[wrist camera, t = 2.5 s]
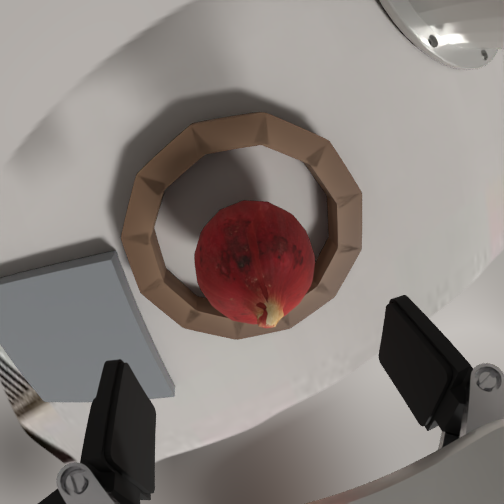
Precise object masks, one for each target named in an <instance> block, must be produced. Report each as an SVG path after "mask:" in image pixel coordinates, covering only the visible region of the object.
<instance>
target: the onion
mask: <svg viewBox="0 0 504 504" xmlns="http://www.w3.org/2000/svg"><path fill="white" fill-rule="evenodd" d="M194 256H195V268H196V276H197V283H198V285H199V287H200V289H201V291H202V292H203V294H204V295H205V296H206V298H207V299H208V301H209V302H210V304H211V305H212V306H213V307H214V308H215V309H216V310H218V311H219V312H221V313H222V314H223V315H225V316H226V317H228V318H229V319H231V320H232V321H237V322H242V323H248V324H253V325H254V324H258V326H259V327H262V328H272V327H276V325H277V323H278V321H279V320H280V319H281V318H282V317H284V316H285V315H287V314H288V313H289V312H290V311H291V310H293V309H294V308H295V307H296V306H297V305H298V304H299V303H300V302H301V301H302V299H303V297H304V296H305V294H306V293H307V291H308V290H309V288H310V287H311V284H312V280H313V274H314V267H315V256H314V252H313V249H312V246H311V243H310V240H309V237H308V235H307V232H306V230H305V229H304V228H303V227H302V225H301V224H300V223H299V222H298V221H297V219H296V218H295V217H294V216H293V215H292V214H290V213H289V212H287V211H285V210H283V209H281V208H279V207H277V206H275V205H273V204H271V203H269V202H263V201H246V200H243V201H241V202H238V203H236V204H233V205H231V206H228V207H226V208H223V209H221V210H219V211H218V212H217V214H216V215H215V216H214V217H213V218H212V219H211V220H210V221H209V222H208V223H207V224H206V225H205V227H204V228H203V230H202V232H201V234H200V237H199V241H198V244H197V247H196V251H195V254H194Z"/></svg>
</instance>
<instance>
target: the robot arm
mask: <svg viewBox="0 0 504 504" xmlns="http://www.w3.org/2000/svg"><path fill="white" fill-rule="evenodd" d="M380 2H381V4H382V6H383V8H384V9H385V10H386V12H387V13H388V15H389V16H390V18H391V19H392V21H393V22H394V23H395V24H396V25H397V27H398V28H399V29H400V30H401V31H402V33H403V34H404V35H405V36H406V37H407V38H408V39H409V40H410V41H411V42H412V43H413V44H414V45H415V46H416V47H417V48H418V49H420V50H421V51H422V52H424V53H425V54H426V55H428V56H429V57H430V58H432V59H434V60H436V61H437V62H439V63H441V64H443V65H445V66H448V67H452V68H455V69H466V70H471V69H479V68H482V67H484V66H486V65H487V64H488V63H490V62H491V61H492V60H493V58H494V57H495V55H496V53H497V51H498V49H504V0H380ZM379 360H380V363H381V365H382V366H383V368H384V369H385V371H386V372H387V374H388V375H389V377H390V378H391V380H392V382H393V383H394V385H395V386H396V388H397V389H398V391H399V393H400V394H401V396H402V397H403V399H404V400H405V402H406V404H407V405H408V407H409V408H410V410H411V412H412V413H413V415H414V416H415V418H416V420H417V421H418V423H419V424H420V425H421V426H425V428H426V429H427V431H429V430H431V429H433V428H435V427H436V426H438V425H439V427H440V428H441V430H442V433H441V438H440V444H439V448H438V450H437V451H436V452H434V453H432V454H430V455H428V456H426V457H424V458H422V459H420V460H418V461H416V462H414V463H412V464H410V465H408V466H406V467H404V468H402V469H400V470H397V471H395V472H393V473H391V474H389V475H386V476H384V477H382V478H379V479H377V480H374V481H372V482H369V483H367V484H364V485H362V486H359V487H356V488H354V489H351V490H348V491H345V492H342V493H339V494H336V495H333V496H330V497H327V498H323V499H320V500H317V501H313V502H309V503H306V504H504V374H503V372H502V371H501V370H500V369H499V368H498V367H497V366H495V365H493V364H488V363H486V364H485V363H484V364H480V365H478V366H476V367H475V368H474V369H473V368H472V367H471V365H470V364H469V363H468V361H467V360H466V359H465V358H464V357H463V356H462V355H461V353H460V352H459V351H458V350H457V349H456V348H455V347H454V346H453V345H452V343H451V342H450V341H449V340H448V339H447V338H446V337H445V336H444V335H443V333H442V332H441V331H439V329H438V328H437V327H436V326H435V325H434V324H433V323H432V322H431V321H430V320H429V318H428V317H427V316H426V315H425V314H424V313H423V312H422V311H421V310H420V309H419V308H418V307H417V306H416V305H415V304H414V303H413V302H412V301H411V300H410V299H409V298H408V297H407V296H406V295H403V296H400V297H396V298H393V299H391V300H390V302H389V304H388V305H387V306H386V311H385V319H384V326H383V332H382V339H381V345H380V350H379ZM155 428H156V411H155V408H154V406H153V404H152V403H151V401H150V400H149V398H148V396H147V395H146V393H145V391H144V390H143V388H142V387H141V385H140V383H139V382H138V380H137V378H136V376H135V375H134V373H133V371H132V369H131V368H130V366H129V364H128V363H124V362H123V361H122V360H121V359H117V360H109V361H106V362H105V363H104V367H103V370H102V374H101V378H100V382H99V387H98V391H97V395H96V398H94V399H93V402H92V405H91V409H90V414H89V418H88V423H87V428H86V433H85V438H84V444H83V449H82V455H81V461H80V463H77V462H74V463H69V464H67V465H65V466H64V467H63V468H62V469H61V470H60V472H59V473H58V476H57V487H58V489H57V490H55V491H54V492H53V493H51V494H50V495H49V496H48V497H46V498H45V499H43V500H42V501H41V502H40V503H38V504H140V500H151V495H150V494H151V493H154V490H155V483H154V482H155V472H154V470H155Z"/></svg>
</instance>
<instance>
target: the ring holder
mask: <svg viewBox="0 0 504 504" xmlns="http://www.w3.org/2000/svg"><path fill="white" fill-rule="evenodd" d="M257 145H263V146H265V147H268V148H271V149H273V150H276V151H278V152H281V153H283V154H286V155H288V156H291V157H293V158H295V159H298V160H300V161H303V162H304V164H305V165H306V167H307V168H308V169H309V171H310V172H311V174H312V175H313V176H314V178H315V179H316V181H317V182H318V184H319V185H320V186H321V188H322V189H323V191H324V192H325V194H326V195H327V210H328V234H329V237H328V239H327V241H326V243H325V245H324V247H323V249H322V251H321V253H320V255H319V257H318V259H317V261H316V263H315V267H314V274H313V280H312V284H311V287H310V288H309V290H308V291H307V293H306V294H305V296H304V297H303V299H302V301H301V302H300V303H299V304H298V305H297V306H296V307H295V308H294V309H293V310H291V311H290V312H289V313H288V314H287V315H285V316H284V317H282V318H281V319H280V320H279V321H278V323H277V325H276V327H272V328H262V327H259V326H258V324H254V325H253V324H248V323H242V322H237V321H232V320H231V319H229V318H228V317H226V316H225V315H223V314H222V313H221V312H219V311H218V310H216V309H215V308H214V307H213V306H212V305H211V304H210V302H209V301H208V299H207V298H203V297H199V296H196V295H195V294H194V293H193V292H192V291H191V290H189V289H188V288H187V287H186V286H185V285H184V284H183V283H182V282H180V281H179V280H178V279H177V278H176V277H175V276H174V275H173V274H172V273H171V272H169V271H168V270H167V269H166V266H165V263H164V260H163V257H162V253H161V250H160V247H159V243H158V240H157V236H156V233H155V229H154V226H155V222H156V219H157V215H158V212H159V209H160V205H161V202H162V198H163V195H164V192H165V189H166V188H167V187H169V186H170V185H171V184H172V183H173V182H174V181H175V180H176V179H177V178H179V177H180V176H181V175H182V174H183V173H184V172H185V171H186V170H188V169H189V168H190V167H191V166H192V165H193V164H195V163H196V162H197V161H198V160H199V159H200V158H202V157H203V156H204V155H205V154H210V153H216V152H221V151H227V150H232V149H238V148H244V147H250V146H257ZM121 240H122V243H123V246H124V249H125V252H126V255H127V258H128V261H129V263H130V266H131V269H132V272H133V274H134V277H135V280H136V282H137V285H138V288H139V290H140V293H141V294H142V295H144V296H145V297H146V298H147V299H148V300H150V301H151V302H152V303H153V304H154V305H156V306H157V307H158V308H159V309H160V310H162V311H163V312H164V313H165V314H166V315H168V316H169V317H170V318H171V319H173V320H174V321H175V322H176V323H178V324H179V325H180V326H182V327H184V328H186V329H190V330H194V331H199V332H203V333H208V334H212V335H217V336H222V337H226V338H231V339H243V338H248V337H253V336H258V335H262V334H267V333H272V332H277V331H281V330H286V329H290V328H292V327H293V326H295V325H296V324H297V323H299V322H300V321H302V320H303V319H305V318H306V317H307V316H309V315H310V314H312V313H313V312H315V311H316V310H317V309H319V308H320V307H322V306H323V305H324V304H326V303H327V302H328V301H330V300H331V299H333V298H334V297H335V296H336V294H337V292H338V290H339V289H340V287H341V285H342V283H343V282H344V280H345V278H346V276H347V275H348V273H349V271H350V269H351V268H352V266H353V264H354V262H355V260H356V259H357V257H358V255H359V253H360V251H361V249H362V192H361V190H360V189H359V187H358V185H357V184H356V182H355V180H354V179H353V177H352V175H351V174H350V172H349V171H348V169H347V167H346V166H345V164H344V163H343V161H342V159H341V158H340V156H339V155H338V153H337V152H336V150H335V149H334V147H333V146H332V144H331V143H330V141H329V140H327V139H325V138H323V137H320V136H318V135H316V134H314V133H312V132H310V131H307V130H305V129H303V128H301V127H299V126H296V125H294V124H292V123H289V122H287V121H285V120H282V119H280V118H278V117H275V116H273V115H270V114H268V113H264V112H256V113H249V114H242V115H235V116H229V117H223V118H217V119H212V120H206V121H201V122H196V123H192V124H191V125H190V126H188V127H187V128H186V129H185V130H184V131H183V132H181V133H180V134H179V135H178V136H177V137H176V138H175V139H173V140H172V141H171V142H170V143H169V144H168V145H167V146H166V147H164V148H163V149H162V150H161V151H160V152H159V153H158V154H157V155H156V156H155V157H154V158H153V159H152V160H150V161H149V162H148V163H147V164H146V165H145V166H144V167H143V168H142V169H141V170H140V171H139V172H138V173H137V175H136V178H135V181H134V185H133V189H132V192H131V196H130V200H129V204H128V208H127V212H126V217H125V221H124V225H123V230H122V234H121Z"/></svg>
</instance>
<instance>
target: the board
mask: <svg viewBox="0 0 504 504" xmlns="http://www.w3.org/2000/svg"><path fill="white" fill-rule="evenodd" d="M0 344H1V346H2V347H3V349H4V350H5V352H6V353H7V355H8V356H9V357H10V359H11V360H12V362H13V363H14V364H15V366H16V367H17V368H18V370H19V371H20V372H21V374H22V375H23V376H24V378H25V379H26V380H27V381H28V383H29V384H30V385H31V386H32V388H33V389H34V390H35V391H36V392H37V394H38V395H39V396H40V397H41V398H42V399H43V401H44V402H93V399H94V398H96V395H97V391H98V387H99V382H100V378H101V374H102V370H103V367H104V363H105V362H106V361H109V360H117V359H121V360H122V361H123V362H124V363H128V364H129V366H130V368H131V369H132V371H133V373H134V375H135V376H136V378H137V380H138V382H139V383H140V385H141V387H142V388H143V390H144V391H145V393H146V395H147V396H148V398H149V399H155V398H165V397H174V396H175V385H174V383H173V381H172V379H171V377H170V375H169V373H168V371H167V369H166V367H165V365H164V363H163V361H162V359H161V357H160V355H159V353H158V351H157V349H156V347H155V345H154V342H153V340H152V338H151V336H150V334H149V331H148V329H147V327H146V325H145V322H144V320H143V318H142V316H141V313H140V311H139V309H138V306H137V304H136V301H135V299H134V297H133V294H132V292H131V289H130V287H129V284H128V282H127V279H126V276H125V274H124V271H123V268H122V266H121V263H120V260H119V258H118V255H117V252H116V251H111V252H107V253H102V254H98V255H93V256H89V257H85V258H80V259H76V260H72V261H67V262H63V263H59V264H55V265H50V266H46V267H42V268H38V269H34V270H30V271H26V272H22V273H18V274H14V275H10V276H6V277H2V278H0Z"/></svg>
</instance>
